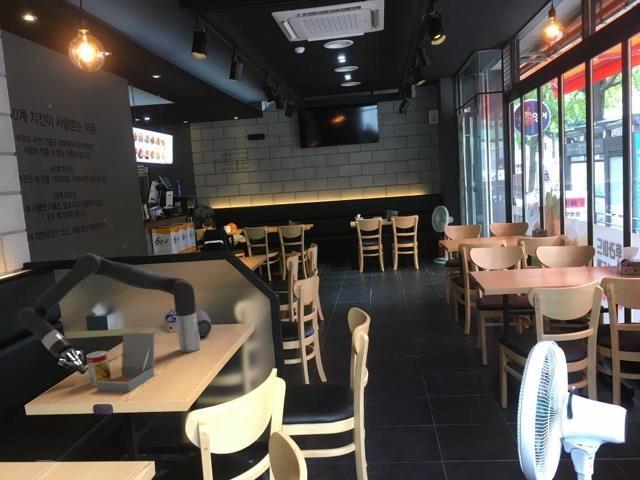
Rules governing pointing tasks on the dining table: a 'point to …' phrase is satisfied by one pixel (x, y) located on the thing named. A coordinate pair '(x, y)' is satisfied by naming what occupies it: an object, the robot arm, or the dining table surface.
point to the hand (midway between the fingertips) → (84, 372)
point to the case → (134, 362)
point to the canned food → (98, 367)
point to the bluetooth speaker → (203, 322)
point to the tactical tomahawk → (109, 360)
